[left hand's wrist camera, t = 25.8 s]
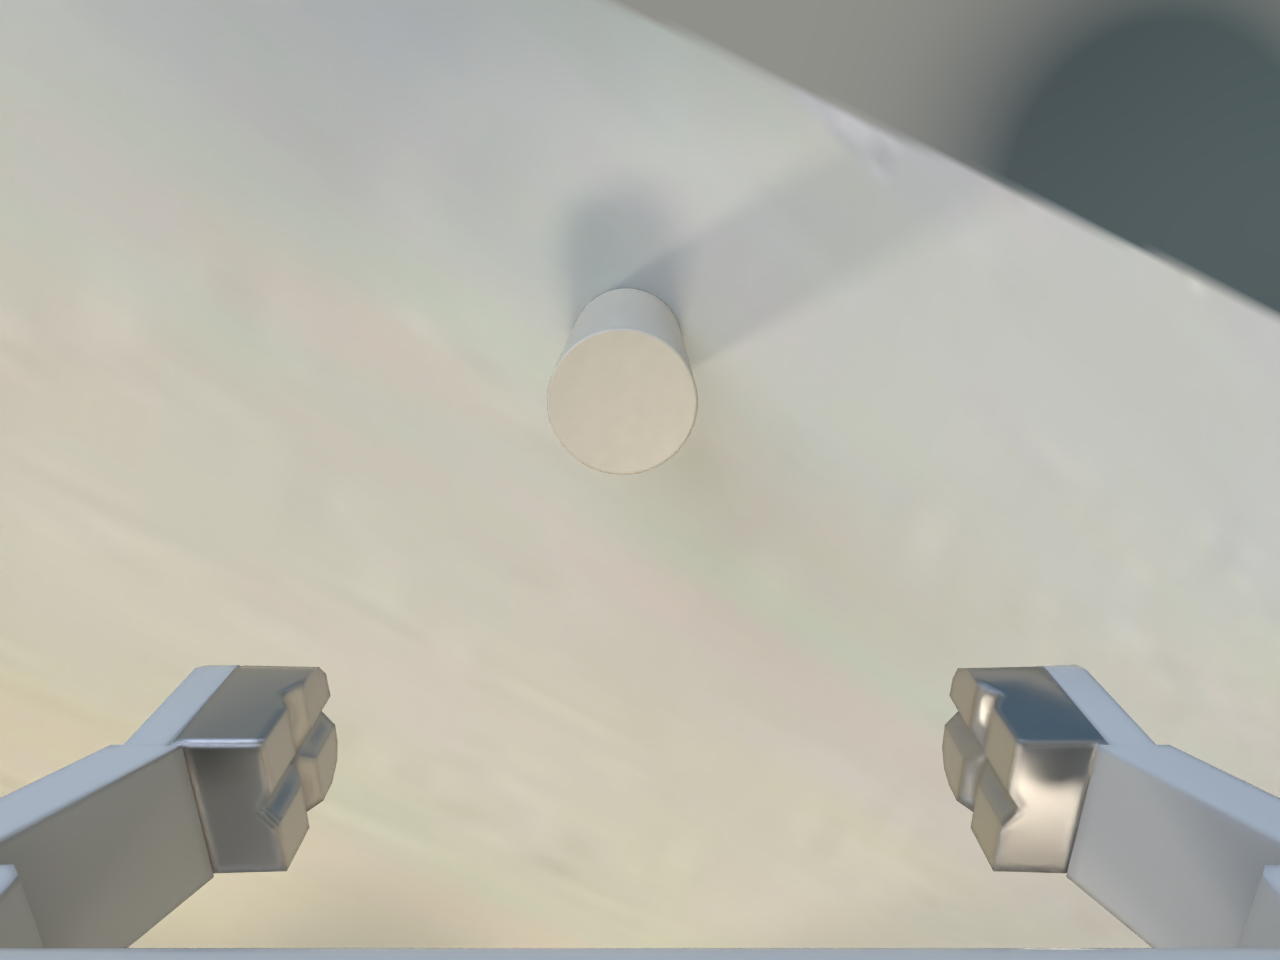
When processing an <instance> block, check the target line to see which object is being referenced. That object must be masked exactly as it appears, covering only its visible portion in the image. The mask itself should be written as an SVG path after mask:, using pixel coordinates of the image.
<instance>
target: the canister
mask: <svg viewBox="0 0 1280 960" xmlns="http://www.w3.org/2000/svg"><path fill="white" fill-rule="evenodd" d="M697 408H698V397H697V389H696V385H695V381H694V377H693V374H692V370H691V367H690V363H689V360H688V356H687V353H686V349H685V346H684V342H683V339H682V335H681V332H680V328H679V325H678V322H677V320H676V318H675V316H674V315H673V313H672V312H671V310H670V309H669V308H668V307H667V306H666V305H665V304H664V303H663V302H662V301H661V300H660V299H658V298H657V297H655V296H654V295H652V294H650V293H647V292H645V291H641V290H638V289H630V288H624V289H616V290H612V291H608V292H606V293H604V294H601V295H600V296H598V297H596V298H595V299H594V300H592V301H591V302H590V303H589V304H588V305H587V306H586V307H585V308H584V309H583V311H582V312H581V314H580V315H579V317H578V319H577V321H576V323H575V325H574V328H573V330H572V332H571V334H570V336H569V338H568V340H567V343H566V345H565V347H564V349H563V351H562V353H561V355H560V358H559V360H558V362H557V364H556V366H555V368H554V371H553V373H552V376H551V378H550V381H549V386H548V391H547V411H548V416H549V420H550V423H551V426H552V429H553V431H554V433H555V435H556V437H557V438H558V440H559V441H560V443H561V444H562V446H563V447H564V448H565V449H566V450H567V451H568V452H569V453H570V454H571V455H572V456H573V457H574V458H576V459H577V460H578V461H580V462H581V463H583V464H585V465H587V466H588V467H590V468H593V469H595V470H598V471H601V472H605V473H610V474H619V475H623V474H635V473H640V472H644V471H648V470H650V469H653V468H655V467H657V466H659V465H661V464H663V463H664V462H666V461H667V460H668V459H670V458H671V457H672V456H673V455H674V454H675V453H677V452H678V451H679V449H680V448H681V447H682V446H683V444H684V443H685V442H686V440H687V438H688V437H689V435H690V433H691V431H692V428H693V426H694V423H695V419H696V415H697Z"/></svg>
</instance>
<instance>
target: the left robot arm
mask: <svg viewBox="0 0 1280 960" xmlns="http://www.w3.org/2000/svg"><path fill="white" fill-rule="evenodd" d="M329 697H330V691H329V687H328V682H327V677H326V673H325V672H324V671H322V670H321V669H320V668H319V667H289V666H239V665H208V666H202V667H198V668H195V669H194V670H193V671H192V672H191V673H190V674H189V675H188V677H187V678H186V679H185V680H184V681H183V682H182V683H181V684H180V685H179V686H178V687H177V688H176V689H175V690H174V692H173V693H172V694H171V695H170V696H169V697H168V698H167V699H166V700H165V701H164V702H163V703H162V704H161V705H160V707H159V708H158V709H157V710H156V711H155V712H154V713H153V714H152V715H151V716H150V717H149V718H148V719H147V720H146V722H145V723H144V724H143V725H142V726H141V727H140V728H139V729H138V730H137V731H136V732H135V733H134V734H133V735H132V737H131V738H130V739H129V740H128V741H127V742H126V743H125V744H124V745H110V746H108V747H106V748H103V749H101V750H99V751H97V752H95V753H93V754H91V755H89V756H87V757H85V758H83V759H81V760H79V761H76V762H74V763H72V764H70V765H68V766H66V767H64V768H62V769H60V770H58V771H56V772H54V773H52V774H50V775H47V776H45V777H43V778H41V779H39V780H37V781H35V782H33V783H31V784H29V785H27V786H25V787H23V788H20V789H18V790H16V791H14V792H12V793H10V794H8V795H6V796H4V797H2V798H0V960H1280V798H1278V797H1276V796H1274V795H1272V794H1270V793H1268V792H1266V791H1263V790H1261V789H1259V788H1257V787H1255V786H1253V785H1251V784H1249V783H1247V782H1245V781H1243V780H1241V779H1239V778H1237V777H1234V776H1232V775H1230V774H1228V773H1226V772H1224V771H1222V770H1220V769H1218V768H1216V767H1214V766H1212V765H1210V764H1208V763H1205V762H1203V761H1201V760H1199V759H1197V758H1195V757H1193V756H1191V755H1189V754H1187V753H1185V752H1183V751H1181V750H1179V749H1177V748H1174V747H1172V746H1170V745H1156V744H1155V743H1154V742H1153V741H1152V740H1151V739H1150V738H1149V737H1148V735H1147V734H1146V733H1145V732H1144V731H1143V730H1142V729H1141V728H1140V727H1139V726H1138V725H1137V724H1136V723H1135V721H1134V720H1133V719H1132V718H1131V717H1130V716H1129V715H1128V714H1127V713H1126V712H1125V711H1124V710H1123V709H1122V708H1121V706H1120V705H1119V704H1118V703H1117V702H1116V701H1115V700H1114V699H1113V698H1112V697H1111V696H1110V695H1109V694H1108V693H1107V691H1106V690H1105V689H1104V688H1103V687H1102V686H1101V685H1100V684H1099V683H1098V682H1097V681H1096V680H1095V679H1094V677H1093V676H1092V675H1091V674H1090V673H1089V672H1088V671H1087V670H1086V669H1084V668H1082V667H1079V666H1077V665H1056V666H1036V667H998V668H958V669H957V671H956V673H955V675H954V677H953V680H952V685H951V691H950V697H951V699H952V701H953V702H954V704H955V706H956V707H957V709H958V712H957V713H956V714H955V715H954V716H953V717H952V718H951V719H950V720H949V721H948V722H947V723H946V724H945V728H944V737H943V745H942V750H943V761H944V770H945V773H946V776H947V780H948V783H949V786H950V788H951V790H952V792H953V794H954V796H955V798H956V800H957V801H958V802H960V803H961V804H963V805H964V806H965V807H967V808H968V809H970V810H971V811H973V817H972V823H971V829H972V831H973V833H974V835H975V837H976V839H977V841H978V843H979V845H980V846H981V848H982V850H983V852H984V854H985V856H986V858H987V860H988V862H989V864H990V865H991V867H992V869H993V871H1008V872H1043V873H1067V875H1066V877H1067V878H1069V879H1070V880H1071V881H1072V882H1073V883H1075V884H1076V885H1077V886H1078V887H1079V888H1081V889H1082V890H1083V891H1084V892H1086V893H1087V894H1088V895H1089V896H1090V897H1092V898H1093V899H1094V900H1095V901H1096V902H1098V903H1099V904H1100V905H1101V906H1103V907H1104V908H1105V909H1106V910H1107V911H1109V912H1110V913H1111V914H1112V915H1113V916H1115V917H1116V918H1117V919H1118V920H1120V921H1121V922H1122V923H1123V924H1124V925H1126V926H1127V927H1128V928H1129V929H1130V930H1132V931H1133V932H1134V933H1135V934H1137V935H1138V936H1139V937H1140V938H1141V939H1143V940H1144V941H1145V942H1146V943H1147V944H1149V945H1150V946H1151V947H1152V948H128V947H129V946H130V945H132V944H133V943H134V942H135V941H136V940H138V939H139V938H140V937H141V936H142V935H144V934H145V933H146V932H147V931H149V930H150V929H151V928H152V927H153V926H155V925H156V924H157V923H158V922H160V921H161V920H162V919H163V918H164V917H166V916H167V915H168V914H169V913H170V912H172V911H173V910H174V909H175V908H177V907H178V906H179V905H180V904H181V903H183V902H184V901H185V900H186V899H187V898H189V897H190V896H191V895H192V894H194V893H195V892H196V891H197V890H198V889H200V888H201V887H202V886H203V885H205V884H206V883H207V882H208V881H209V880H211V879H212V878H213V876H214V875H213V873H236V872H270V871H287V869H288V868H289V866H290V864H291V862H292V860H293V858H294V856H295V854H296V852H297V850H298V848H299V847H300V845H301V843H302V841H303V839H304V837H305V835H306V833H307V831H308V829H309V823H308V817H307V811H309V810H310V809H312V808H313V807H315V806H316V805H317V804H319V803H320V802H322V801H323V800H324V798H325V796H326V794H327V792H328V790H329V788H330V786H331V784H332V780H333V776H334V772H335V767H336V763H337V735H336V728H335V724H334V723H333V722H332V721H331V720H330V719H329V718H328V717H327V716H326V715H325V714H324V713H323V712H322V709H323V707H324V706H325V704H326V702H327V701H328V699H329Z"/></svg>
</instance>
